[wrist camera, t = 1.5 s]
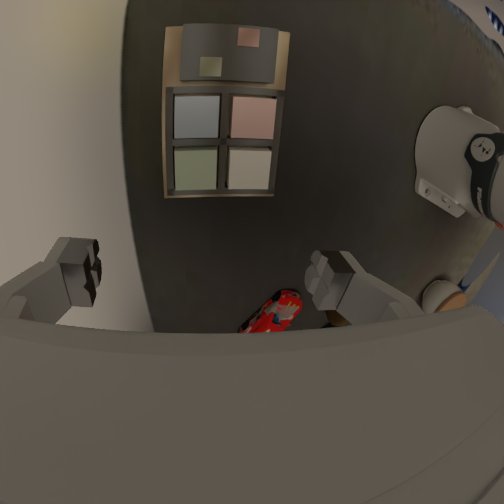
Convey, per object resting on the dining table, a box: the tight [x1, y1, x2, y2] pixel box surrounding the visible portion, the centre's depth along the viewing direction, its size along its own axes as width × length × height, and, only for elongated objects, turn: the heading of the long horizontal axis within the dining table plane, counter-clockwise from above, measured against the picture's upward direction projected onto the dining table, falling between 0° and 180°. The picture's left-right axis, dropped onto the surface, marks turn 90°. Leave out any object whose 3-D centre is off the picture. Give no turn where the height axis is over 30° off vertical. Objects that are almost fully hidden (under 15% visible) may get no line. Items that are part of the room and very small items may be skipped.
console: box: [162, 24, 290, 198], centre depth 26 cm, size 13×20×4 cm, turn 176°
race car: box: [238, 290, 303, 333], centre depth 45 cm, size 13×5×4 cm, turn 138°
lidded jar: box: [422, 280, 467, 315], centre depth 50 cm, size 11×11×9 cm
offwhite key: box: [227, 146, 272, 189], centre depth 28 cm, size 4×4×2 cm
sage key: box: [175, 146, 217, 190], centre depth 27 cm, size 4×4×2 cm
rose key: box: [229, 96, 277, 139], centre depth 25 cm, size 4×4×2 cm
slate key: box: [174, 96, 220, 139], centre depth 24 cm, size 4×4×2 cm
